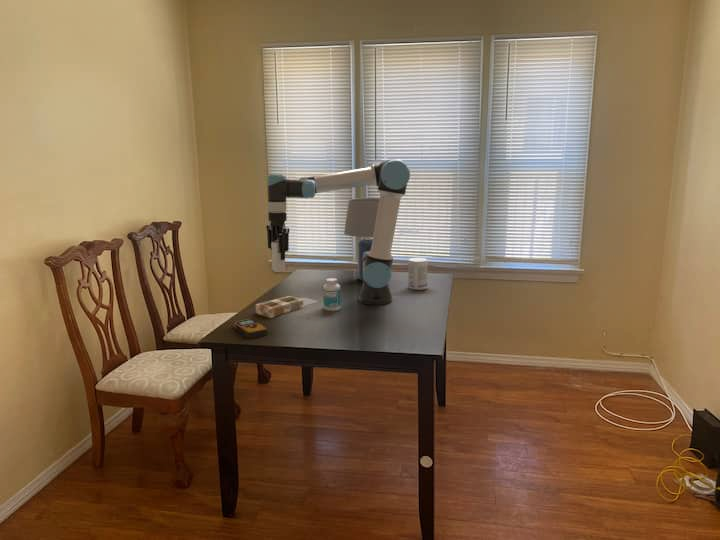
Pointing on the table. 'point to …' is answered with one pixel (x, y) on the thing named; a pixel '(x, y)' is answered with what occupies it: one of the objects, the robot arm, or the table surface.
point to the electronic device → (250, 328)
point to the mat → (308, 301)
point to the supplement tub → (417, 273)
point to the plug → (275, 256)
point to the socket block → (279, 306)
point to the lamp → (362, 224)
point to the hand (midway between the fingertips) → (278, 266)
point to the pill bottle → (332, 295)
